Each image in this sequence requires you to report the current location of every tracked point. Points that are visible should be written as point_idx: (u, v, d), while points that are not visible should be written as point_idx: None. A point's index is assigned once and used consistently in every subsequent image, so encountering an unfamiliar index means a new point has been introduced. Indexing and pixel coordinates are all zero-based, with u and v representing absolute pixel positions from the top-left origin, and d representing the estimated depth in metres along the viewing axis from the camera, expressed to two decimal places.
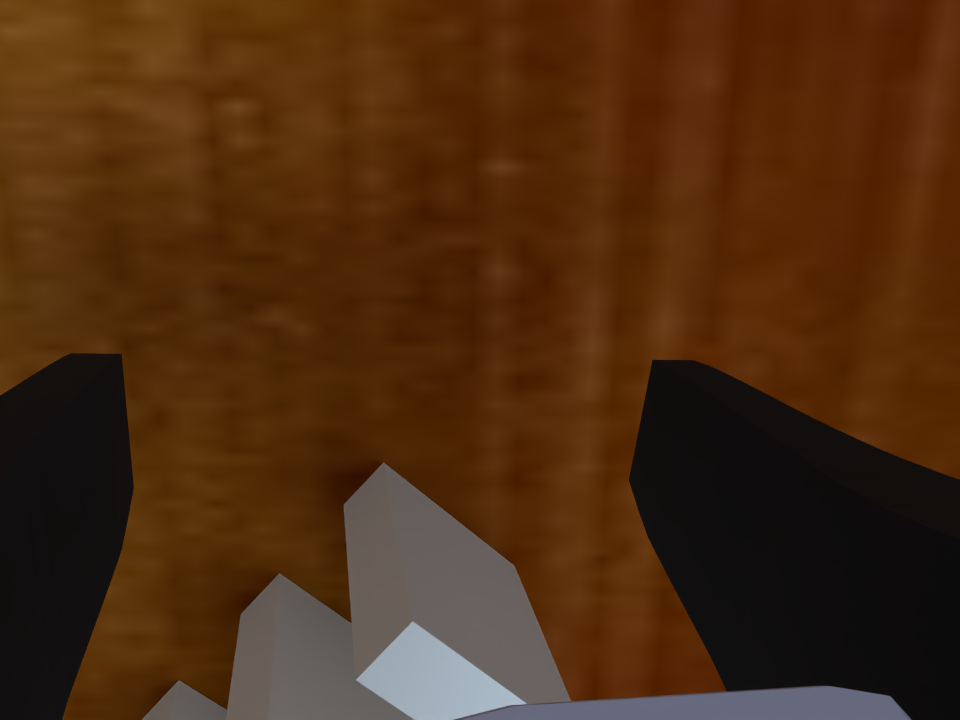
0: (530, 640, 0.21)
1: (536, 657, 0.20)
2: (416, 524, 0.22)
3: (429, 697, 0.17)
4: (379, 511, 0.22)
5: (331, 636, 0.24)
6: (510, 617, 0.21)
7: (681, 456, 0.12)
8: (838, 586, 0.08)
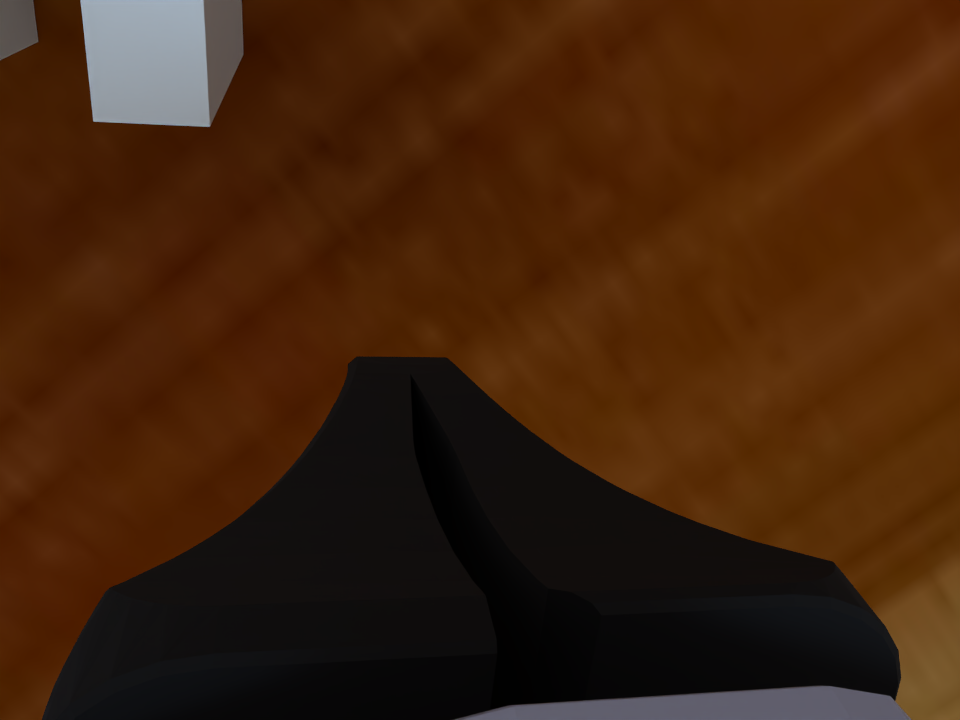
0: (225, 43, 0.15)
1: (222, 47, 0.15)
2: None
3: None
4: None
5: None
6: (226, 8, 0.16)
7: None
8: None
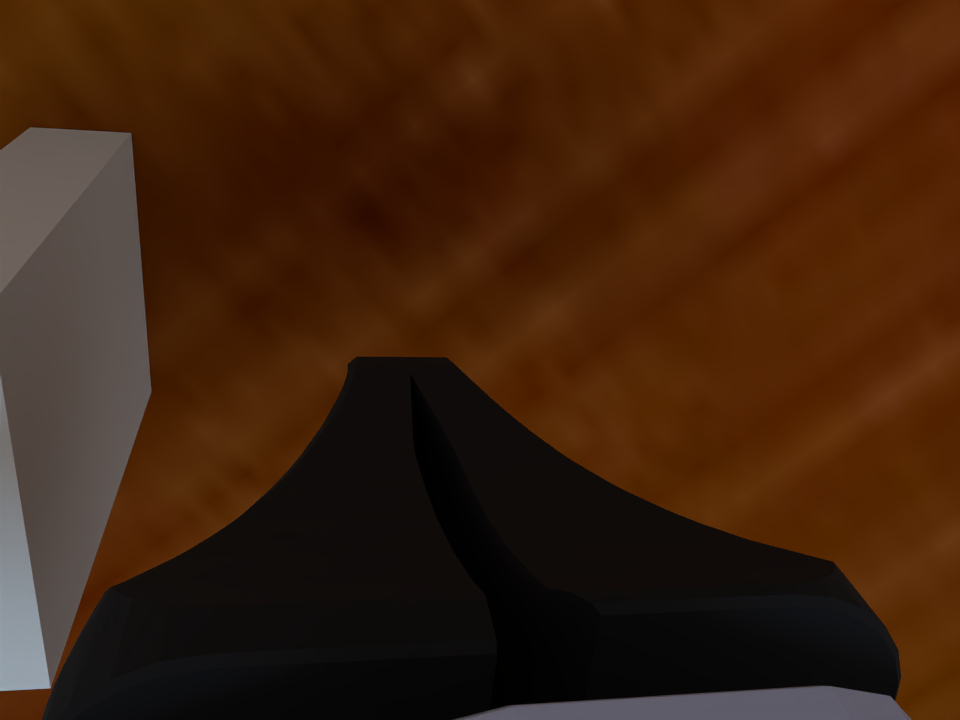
0: (100, 485, 0.13)
1: (90, 511, 0.13)
2: (104, 226, 0.13)
3: None
4: (74, 166, 0.13)
5: None
6: (103, 439, 0.13)
7: None
8: None
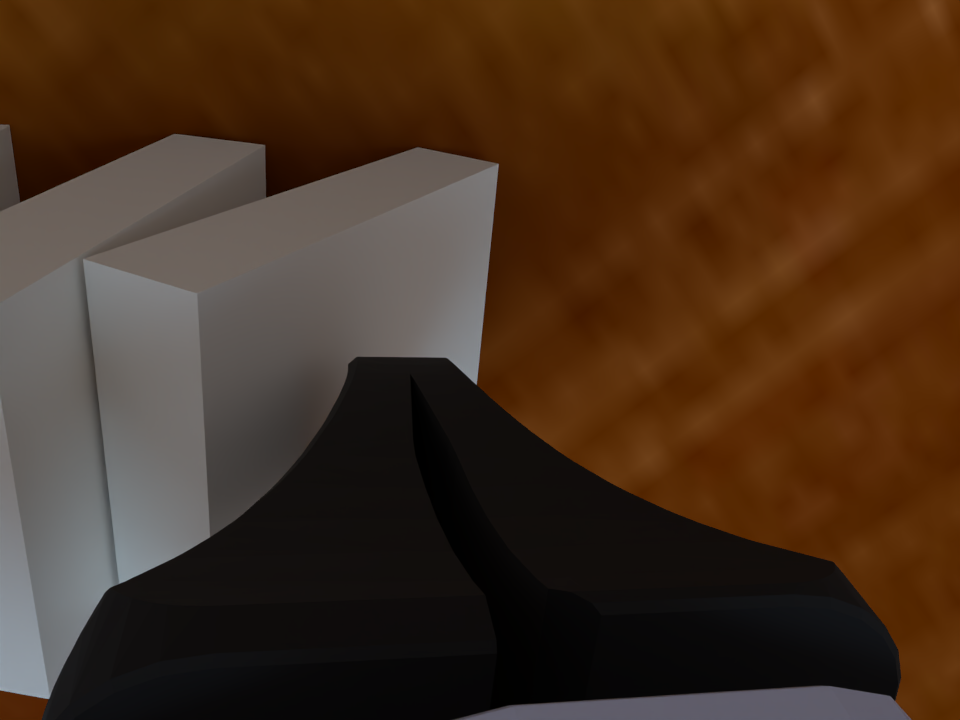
0: None
1: None
2: (424, 246, 0.14)
3: (131, 385, 0.10)
4: (412, 186, 0.14)
5: None
6: None
7: None
8: None
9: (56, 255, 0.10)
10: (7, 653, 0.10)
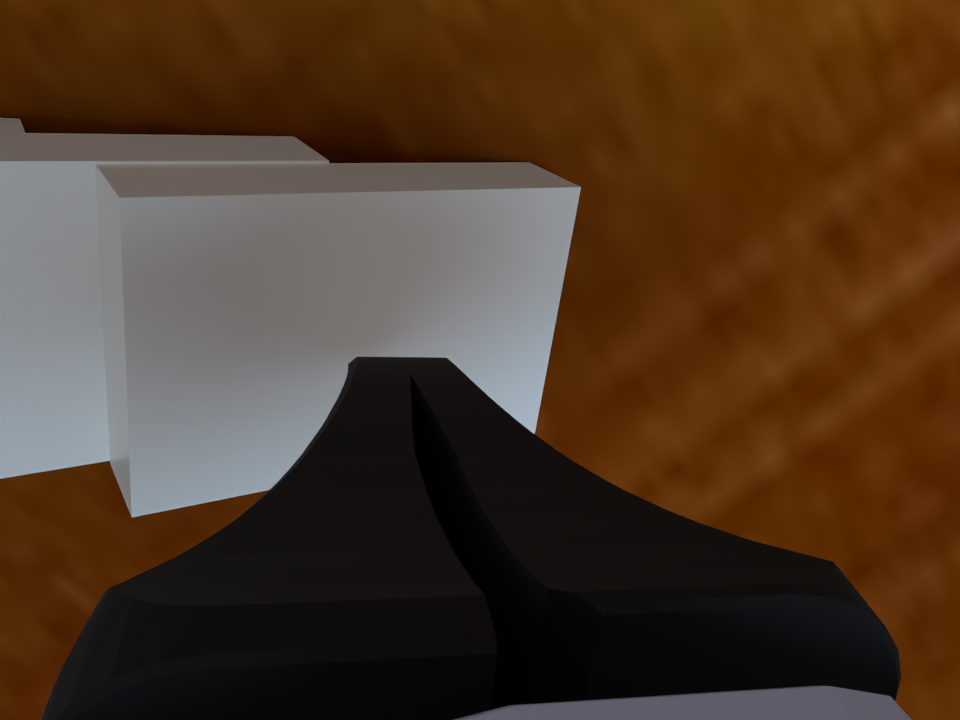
0: None
1: (289, 445, 0.14)
2: (447, 240, 0.14)
3: (107, 271, 0.13)
4: (454, 182, 0.14)
5: None
6: None
7: None
8: None
9: None
10: None
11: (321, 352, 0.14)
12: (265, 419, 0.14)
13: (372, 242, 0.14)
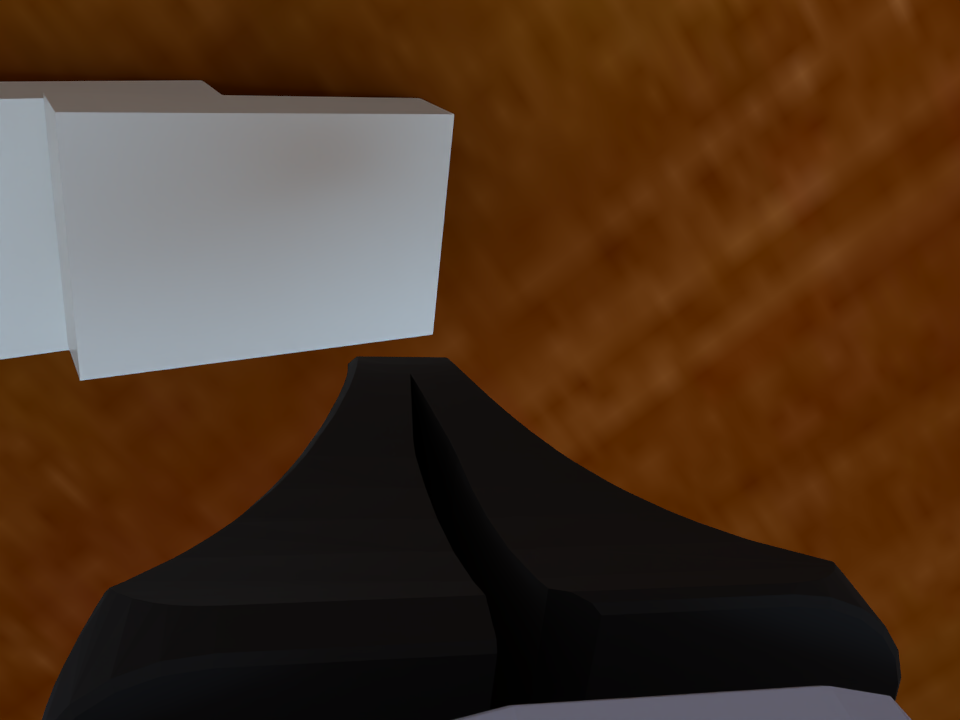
0: (246, 325, 0.18)
1: (211, 327, 0.18)
2: (337, 156, 0.17)
3: (54, 178, 0.16)
4: (342, 109, 0.18)
5: None
6: (268, 299, 0.18)
7: None
8: None
9: None
10: None
11: (233, 248, 0.17)
12: (188, 303, 0.17)
13: (270, 156, 0.17)
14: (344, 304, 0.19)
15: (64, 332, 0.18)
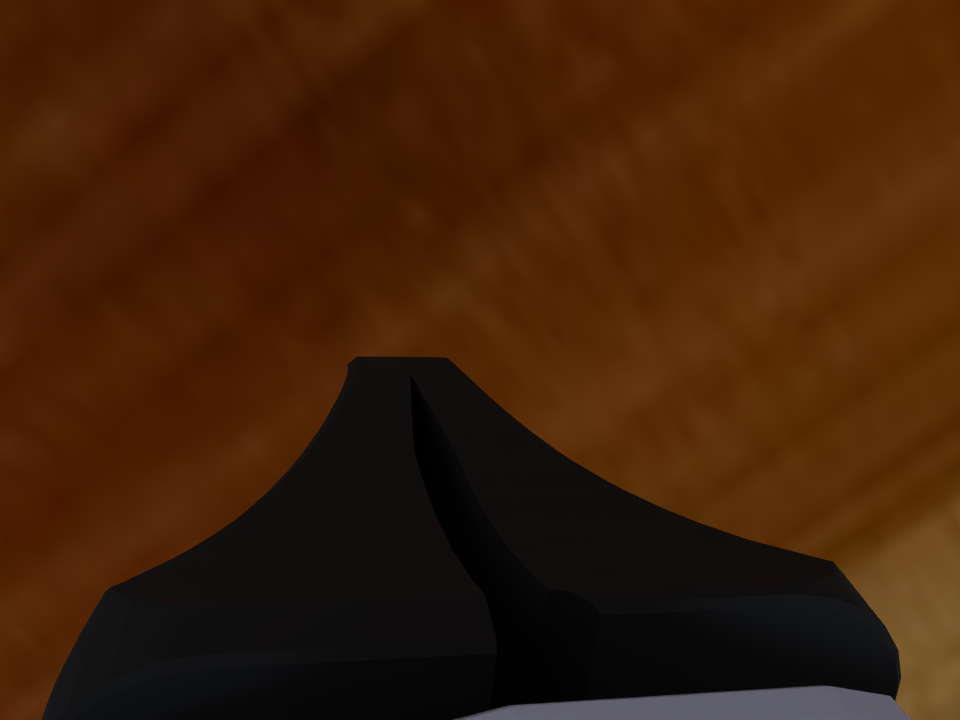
0: None
1: None
2: None
3: None
4: None
5: None
6: None
7: None
8: None
9: None
10: None
11: None
12: None
13: None
14: None
15: None
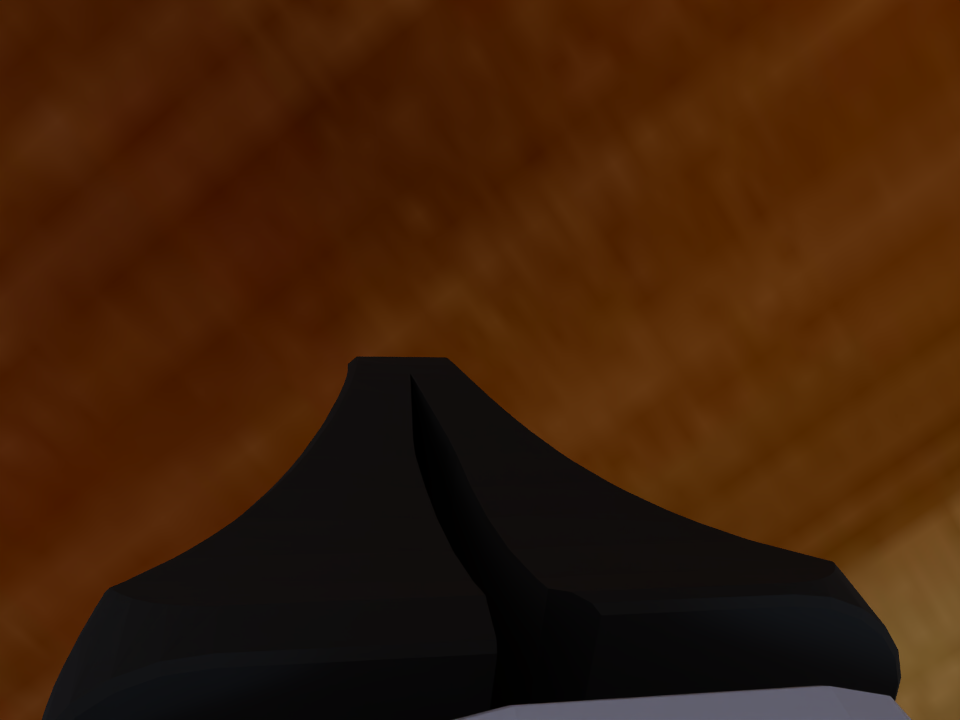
0: None
1: None
2: None
3: None
4: None
5: None
6: None
7: None
8: None
9: None
10: None
11: None
12: None
13: None
14: None
15: None
